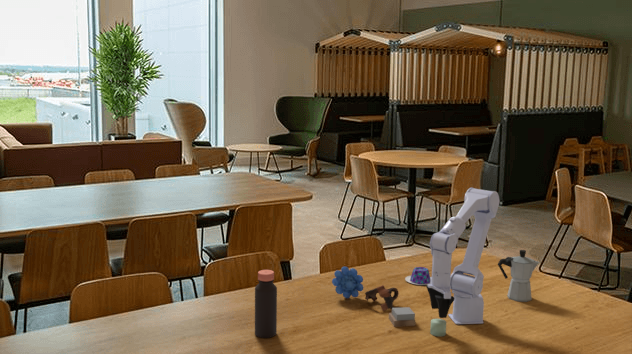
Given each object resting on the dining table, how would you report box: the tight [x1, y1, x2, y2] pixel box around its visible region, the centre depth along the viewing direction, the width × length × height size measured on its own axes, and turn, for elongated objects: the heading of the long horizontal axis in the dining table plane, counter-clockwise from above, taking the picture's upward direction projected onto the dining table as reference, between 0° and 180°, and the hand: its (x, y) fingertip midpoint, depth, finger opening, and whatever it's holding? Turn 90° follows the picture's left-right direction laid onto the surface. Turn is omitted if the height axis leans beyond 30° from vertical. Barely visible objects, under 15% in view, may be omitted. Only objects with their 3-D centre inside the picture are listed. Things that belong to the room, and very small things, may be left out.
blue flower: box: [331, 266, 364, 299], centre depth 233 cm, size 12×7×12 cm, turn 101°
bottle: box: [254, 269, 278, 339], centre depth 201 cm, size 7×7×20 cm
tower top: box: [391, 306, 416, 321], centre depth 214 cm, size 6×6×2 cm
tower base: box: [388, 312, 416, 327], centre depth 214 cm, size 7×7×2 cm
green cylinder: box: [429, 318, 447, 338], centre depth 206 cm, size 5×5×4 cm
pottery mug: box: [364, 285, 400, 312], centre depth 229 cm, size 12×10×8 cm
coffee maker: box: [497, 249, 541, 303], centre depth 238 cm, size 15×9×18 cm, turn 84°
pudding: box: [404, 266, 432, 286], centre depth 256 cm, size 12×12×5 cm
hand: (438, 312), depth 205 cm, fingers open, 7 cm apart
